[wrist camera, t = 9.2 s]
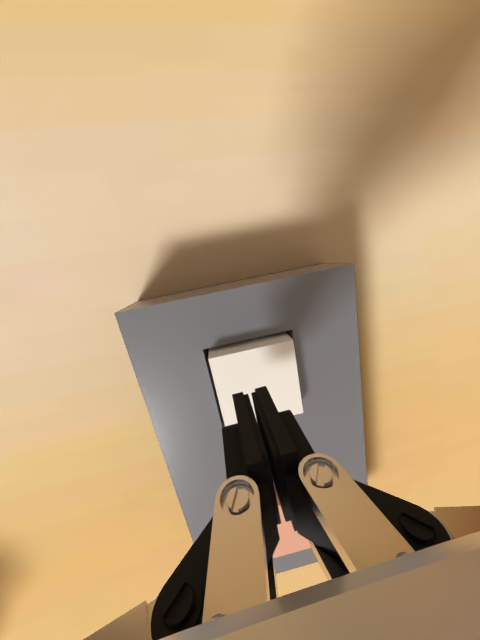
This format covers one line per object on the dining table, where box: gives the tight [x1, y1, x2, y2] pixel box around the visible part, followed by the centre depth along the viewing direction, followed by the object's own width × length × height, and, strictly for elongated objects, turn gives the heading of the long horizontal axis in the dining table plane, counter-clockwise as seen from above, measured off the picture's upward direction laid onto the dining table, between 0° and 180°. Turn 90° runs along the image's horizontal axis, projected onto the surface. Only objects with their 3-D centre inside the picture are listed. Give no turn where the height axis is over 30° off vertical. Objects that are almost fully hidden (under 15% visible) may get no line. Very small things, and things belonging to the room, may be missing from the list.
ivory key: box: [208, 331, 303, 426], centre depth 15 cm, size 5×5×3 cm
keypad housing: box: [115, 263, 367, 574], centre depth 18 cm, size 24×14×4 cm, turn 11°
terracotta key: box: [273, 490, 311, 558], centre depth 18 cm, size 5×5×3 cm
